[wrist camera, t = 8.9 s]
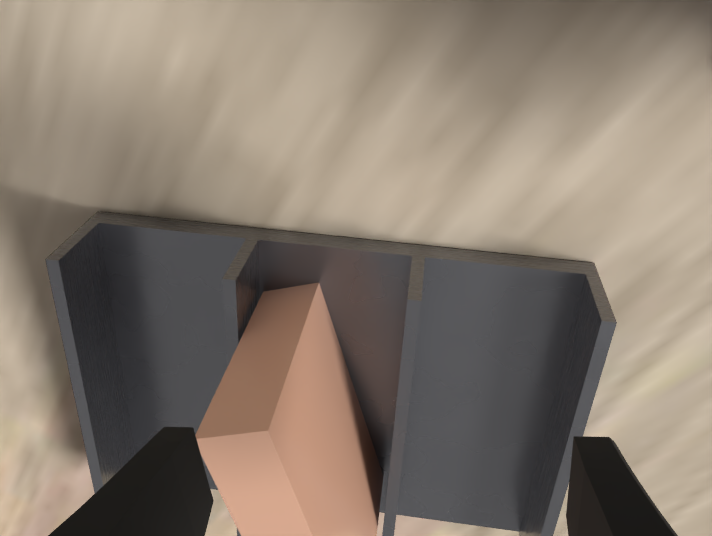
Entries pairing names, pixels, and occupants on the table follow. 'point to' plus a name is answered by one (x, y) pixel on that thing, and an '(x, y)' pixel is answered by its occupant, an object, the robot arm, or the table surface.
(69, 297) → the rack
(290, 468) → the upright salmon slab
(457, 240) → the table surface
